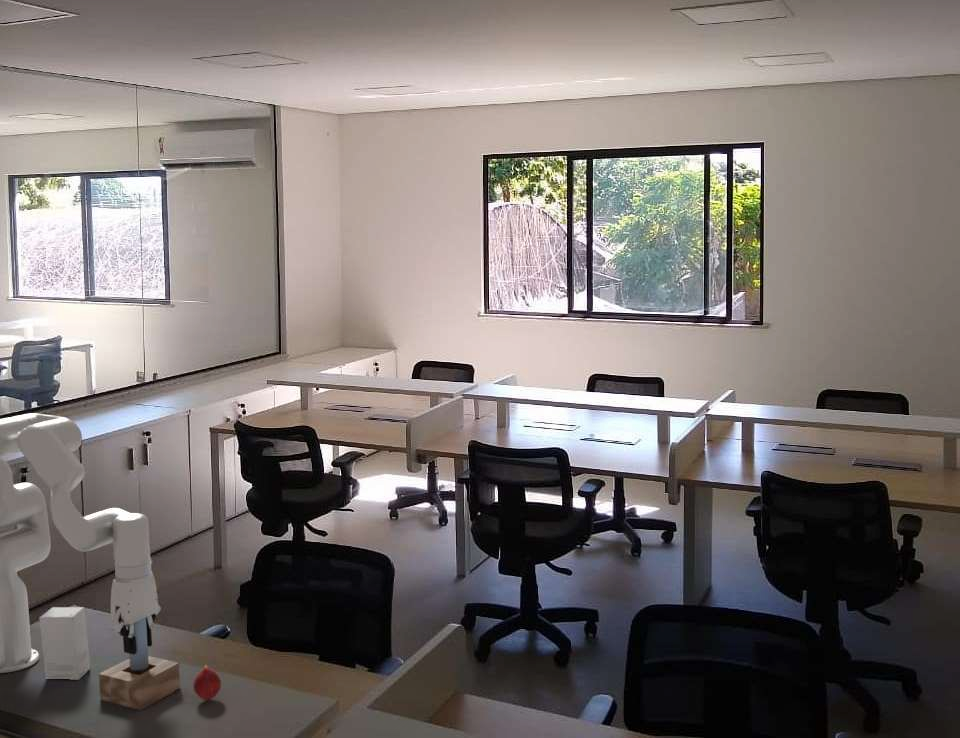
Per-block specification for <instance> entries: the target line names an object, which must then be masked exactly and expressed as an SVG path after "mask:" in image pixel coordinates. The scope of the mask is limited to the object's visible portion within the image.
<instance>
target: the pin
mask: <svg viewBox="0 0 960 738" xmlns="http://www.w3.org/2000/svg"><path fill="white" fill-rule="evenodd" d="M126 629H128V626H126ZM133 636H135V637H136V651H137V652H136V654H134V655H133V654H129V653H128V654H129V655H128V659H129V660H130V669H131V670H143V669H146V668H147V667H148V666H149V660H148V656H149V646H148V644H147V627H146V618H142V619H141V620H139V621H138V622H136V623H134V633H133Z"/></svg>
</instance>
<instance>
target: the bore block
mask: <svg viewBox="0 0 960 738" xmlns="http://www.w3.org/2000/svg"><path fill="white" fill-rule="evenodd" d="M148 660H149V666H148V667H147V668H146V669H143V670H131V669H130V660H129V658H128V659H126V660H123V661H121V662H120V663H118V664H115V665H114V666H112V667H110V668H107V669H105V670H104V671H102V672H100V673H99V672H98V679H99V681H98V682H99V683H98V684H99V696H100V698H99V699H100V700H101V701H104V702H108V703H113V704H116V705H119V706H123V707H128V708H131V709H134V710H138V711H143V710H144V709H146V708H148V707H149V706H151V705H153V704H154V703H156V702H158V701H160V700H162V699H163V698H165V697H167V696H168V695H170V694H172V693H174V692H176V691H177V689H178V690H179V689H181V685H180V684H181V683H180V682H181V681H180V680H181V679H180V664H179V662H176V661H172V660H168V659H163V658H159V657H156V656H155V657H154V656H150V655H148ZM175 690H176V691H175Z"/></svg>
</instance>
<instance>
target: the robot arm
mask: <svg viewBox="0 0 960 738" xmlns="http://www.w3.org/2000/svg"><path fill="white" fill-rule="evenodd" d="M82 442H83V433H82V431H81V429H80V427H79V426H78V424H77V423H76V422H74V421H73V420H72V419H70V418H67V417H64V416H58V415H51V414H50V415H49V414H43V413H24V414H20V415H14V416H11V417H3V418H0V531H1V530H5V529H9V528H11V527H15V526H17V529H14V530H11V531H8V532H4V533H1V534H0V674H4V673H11V672H12V673H13V672H17V671H21V670H24V669H26V668H28V667H31V666H32V665H34V664H36V663H37V662H38V661H39V658H40V653H39V652H38V650H36V649H35V648H34V649H33V648H32V641H31V640H32V638H31V626H30V613H29V601H28V600H29V599H28V590H27V586H26V584H25V582H24V581H23V580H22V579H21V578H20V577H19V574H18V572H19V571H21V570H24V569H27V568H29V567H31V566H33V565H34V566H35V565H37V564H39V563H41V562H43V561H45V560H46V559H47V558H48V556H49V555H50V551H51V549H52V548H51V546H52V543H51V533H50V525H49V516H48V507H47V503H46V502H47V501H46V498H45V495H44V494H43V492H42V490H41V489H40V488H39V487H38V486H37V485H36V484H34V483H32V482H27V481H25V482H19V483H18V482H17V483H14V481H13V471H12V469H11V466H10V465H9V463H8V462H7V461H6V460H5V458H4V457H3V456H7V455H11V454H12V455H13V454H16V453H21V454H22V455H24V458H26V459H27V461H28V462H29V464H30V465H31V467H32V468H33V469H34V470H35V471H36V473H37V474H38V476H40V478H41V479H42V481H43V482H44V483H45V485H46V486H47V487H48V489H49V490H50V499H49V509H50V514H51V519H52V522H53V525H54V526H55V528H56V529H57V530H58V532H59V533H60V534H61V536H62V537H63V538H64V539H65V542H66V541H67V543H68V544H69V545H70V546H71V547H72V548H73V549H75V550H76V551H79V552H89V551H93V550H96V549H98V548H101V547H104V546H107V545H111V544H113V557H114V570H115V571H114V572H115V578H114V579H113V580H112V584H111V589H110V590H111V591H110V592H111V594H110V619H111V622H112V623H111V625H110V631H113V632H116V633H118V635H120V636H121V637H122V643H123V644H122V645H123V652H124V653H125V654H133V655H134V654H136V652H137V651H136V637H135V636H133V633H134V623H136V622H138V621H139V620H141V619H142V618H146V627H147V644H148V648H149V647H153V639H152V636H153V635H152V629H153V627H154V621H155V619H156V617H157V616H158V614H159V613H160V611H161V610H162V607H161V606H160V604H159V603H158V602H159V601H158V592H157V585H156V580H155V576H154V573H153V571H152V564H153V559H152V558H151V546H150V545H151V544H150V529H149V518H148V517H147V516H146V514H144V513H139V512H129V511H127V510H125V509H123V508H120V507H111V508H106V509H103V510H100V511H96V512H93V513H91V514H87V515H84V516H82V514H81V513H80V512H79V510H78V509H77V508H76V506H75V505H74V504H73V501H72V499H71V492H72V491H73V490H74V489H75V488H76V487H77V486H78V485H79V484H80V482H82V480H83V479H84V478H85V475H86V469H85V467H84V465H83V464H82V463H81V462H80V460H79V459H78V458H77V456H76V455H75V453H73V452H75V451H76V450H78V449H80V446H81V445H82ZM127 626H128V628H127Z"/></svg>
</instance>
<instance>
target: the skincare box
mask: <svg viewBox="0 0 960 738" xmlns="http://www.w3.org/2000/svg"><path fill="white" fill-rule="evenodd" d="M86 621H87V620H86V613H85V607H84V606H82V607H81V606H79V607H73V606H72V607H69V606H67V607H62V606H61V607H59V606H58V607H57V606H53V607H51V608H49V609H48V610H47V611H46V612H44V613H43V614H42V615H41V616H39V628H40V636H41V646H42V653H43V654H42V655H43V662H44V663H43V664H44V671H45V672H44V673H45V680H46V679H70V680H69V681H79V680H80V679H82V677H83V676H84V675H86V674H87V671H88V670H89V669H91V661H90V660H91V659H90V649H89V641H88V632H87V622H86ZM89 671H90V670H89ZM89 671H88V672H89Z"/></svg>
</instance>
